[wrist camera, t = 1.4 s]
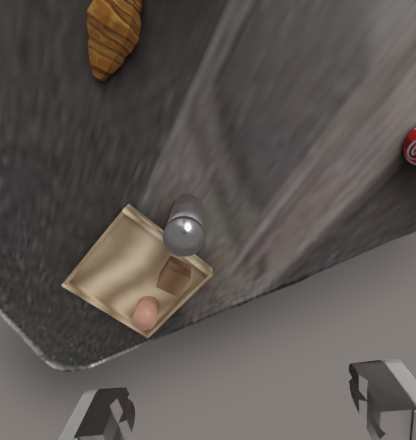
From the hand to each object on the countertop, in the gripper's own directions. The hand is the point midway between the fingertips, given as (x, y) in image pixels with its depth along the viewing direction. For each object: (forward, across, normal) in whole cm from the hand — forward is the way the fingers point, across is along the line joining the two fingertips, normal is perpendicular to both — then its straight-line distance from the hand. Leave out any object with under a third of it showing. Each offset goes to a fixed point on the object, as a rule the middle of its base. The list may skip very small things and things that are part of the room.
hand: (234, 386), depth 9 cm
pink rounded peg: (+31, +17, +18) cm, 39 cm away
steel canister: (+34, +6, +2) cm, 34 cm away
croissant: (+32, +10, -24) cm, 42 cm away
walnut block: (+31, +10, +11) cm, 34 cm away
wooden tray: (+33, +17, +11) cm, 39 cm away
